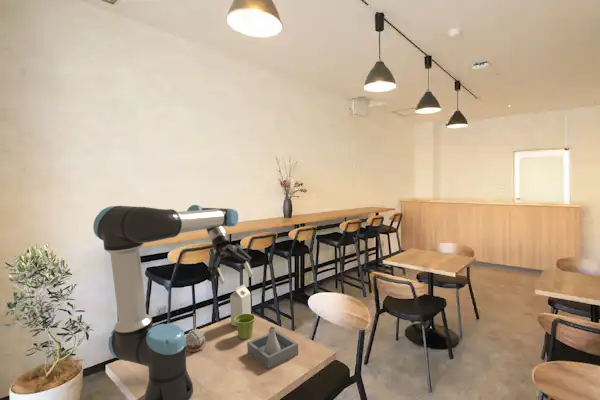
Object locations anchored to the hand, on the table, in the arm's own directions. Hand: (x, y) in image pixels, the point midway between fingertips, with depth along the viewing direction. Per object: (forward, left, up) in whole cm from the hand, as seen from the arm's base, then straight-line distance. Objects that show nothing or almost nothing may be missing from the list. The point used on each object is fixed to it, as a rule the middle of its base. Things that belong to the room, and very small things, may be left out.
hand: (237, 279), depth 137 cm
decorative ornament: (-15, +11, -30) cm, 35 cm away
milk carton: (+11, +17, -30) cm, 36 cm away
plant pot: (+6, +5, -30) cm, 31 cm away
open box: (+7, -15, -30) cm, 34 cm away
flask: (+7, -15, -29) cm, 33 cm away
